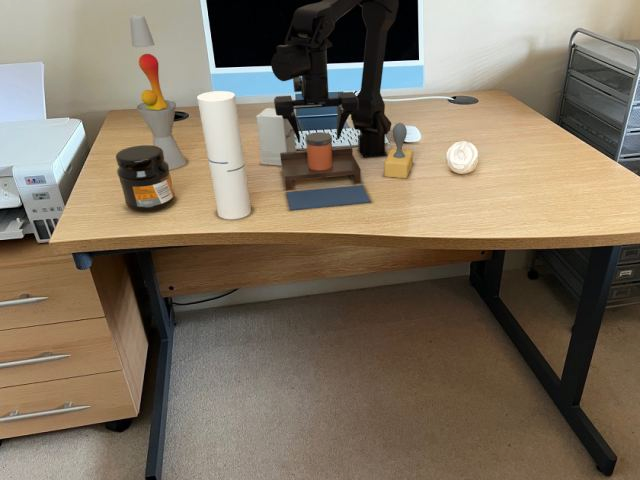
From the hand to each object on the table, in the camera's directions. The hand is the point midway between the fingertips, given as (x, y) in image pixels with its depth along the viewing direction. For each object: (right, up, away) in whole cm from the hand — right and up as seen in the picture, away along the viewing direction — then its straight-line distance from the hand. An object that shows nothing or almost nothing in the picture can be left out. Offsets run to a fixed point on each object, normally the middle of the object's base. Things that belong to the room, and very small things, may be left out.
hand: (318, 140), depth 136 cm
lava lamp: (-40, -3, +13) cm, 43 cm away
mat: (+3, -14, -4) cm, 15 cm away
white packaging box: (-12, -2, +15) cm, 20 cm away
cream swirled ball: (+35, -6, +9) cm, 37 cm away
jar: (0, -5, +3) cm, 6 cm away
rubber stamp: (+19, -5, +10) cm, 22 cm away
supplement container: (-37, -16, -6) cm, 41 cm away
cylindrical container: (-17, -18, -9) cm, 27 cm away
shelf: (0, -8, +6) cm, 10 cm away
